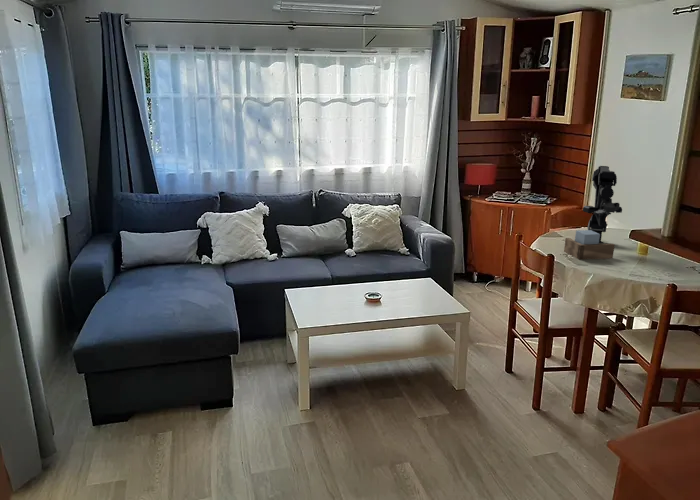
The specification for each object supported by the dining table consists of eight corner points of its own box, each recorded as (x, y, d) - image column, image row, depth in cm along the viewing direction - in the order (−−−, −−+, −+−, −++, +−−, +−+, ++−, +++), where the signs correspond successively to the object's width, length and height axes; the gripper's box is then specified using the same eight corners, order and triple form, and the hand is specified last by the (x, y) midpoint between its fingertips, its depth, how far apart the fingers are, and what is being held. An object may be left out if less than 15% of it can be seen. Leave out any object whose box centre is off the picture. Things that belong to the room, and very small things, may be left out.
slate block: (573, 253, 283) (576, 230, 279) (587, 253, 284) (590, 230, 281) (581, 258, 275) (584, 234, 272) (596, 257, 276) (600, 234, 273)
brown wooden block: (563, 251, 286) (565, 238, 284) (596, 250, 289) (598, 237, 287) (578, 259, 273) (580, 245, 271) (612, 258, 276) (614, 244, 274)
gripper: (596, 198, 277) (592, 229, 281) (630, 198, 279) (626, 228, 283) (584, 194, 287) (580, 224, 291) (617, 194, 290) (613, 223, 294)
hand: (600, 225), depth 290 cm, fingers closed
